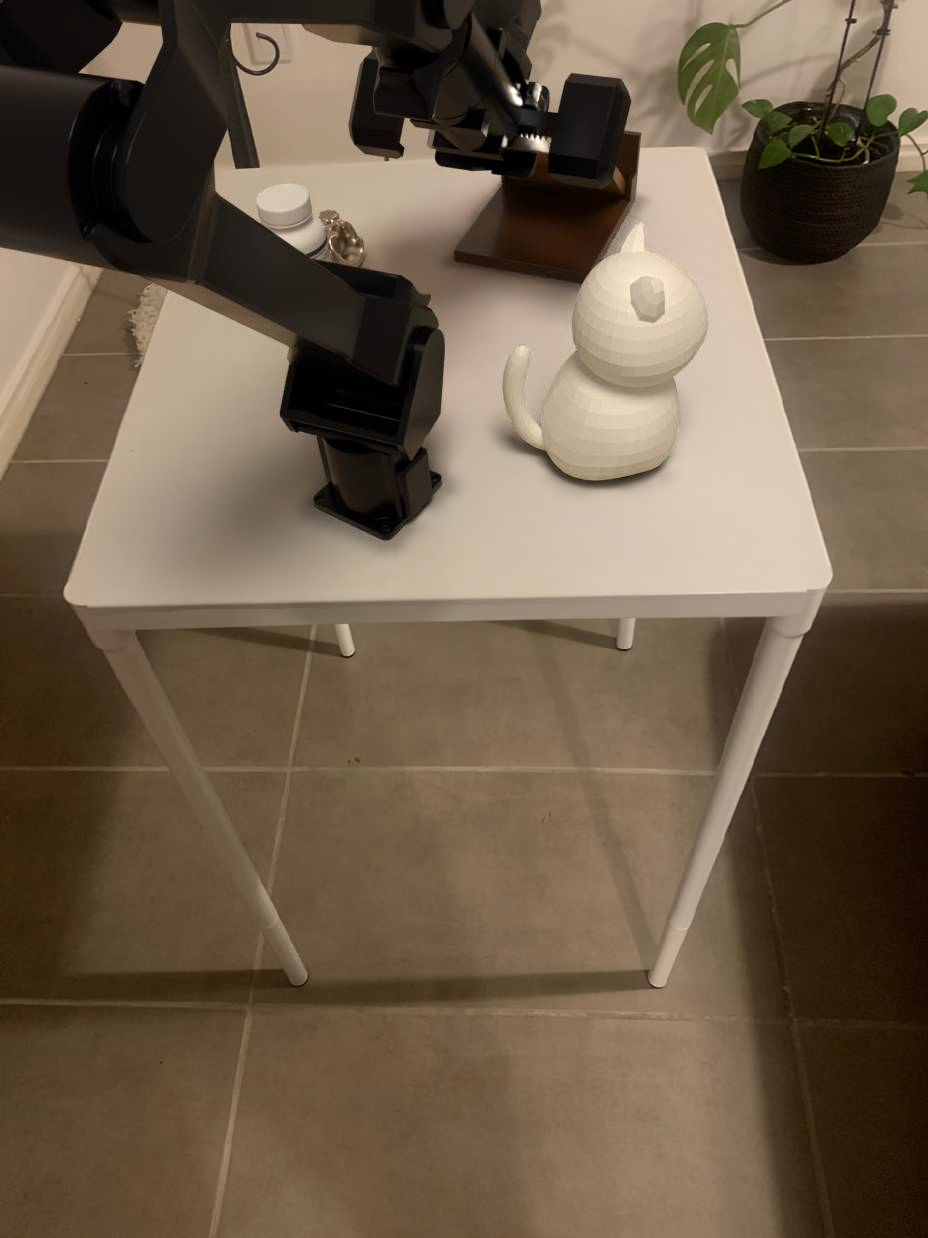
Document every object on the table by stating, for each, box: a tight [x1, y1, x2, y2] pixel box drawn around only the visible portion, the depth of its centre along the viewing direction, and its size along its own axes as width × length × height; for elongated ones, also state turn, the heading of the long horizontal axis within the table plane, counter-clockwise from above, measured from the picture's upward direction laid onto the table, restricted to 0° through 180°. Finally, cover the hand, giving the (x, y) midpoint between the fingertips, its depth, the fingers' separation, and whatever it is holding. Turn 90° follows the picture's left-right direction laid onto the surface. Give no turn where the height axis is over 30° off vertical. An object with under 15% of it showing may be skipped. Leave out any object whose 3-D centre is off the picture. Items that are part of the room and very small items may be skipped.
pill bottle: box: [255, 183, 331, 262], centre depth 73 cm, size 5×5×10 cm
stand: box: [453, 130, 642, 285], centre depth 80 cm, size 14×12×6 cm
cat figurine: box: [501, 221, 709, 481], centre depth 59 cm, size 9×12×15 cm
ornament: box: [318, 209, 365, 267], centre depth 80 cm, size 8×7×4 cm
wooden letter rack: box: [507, 136, 628, 196], centre depth 79 cm, size 11×11×3 cm
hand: (516, 162), depth 71 cm, fingers closed
